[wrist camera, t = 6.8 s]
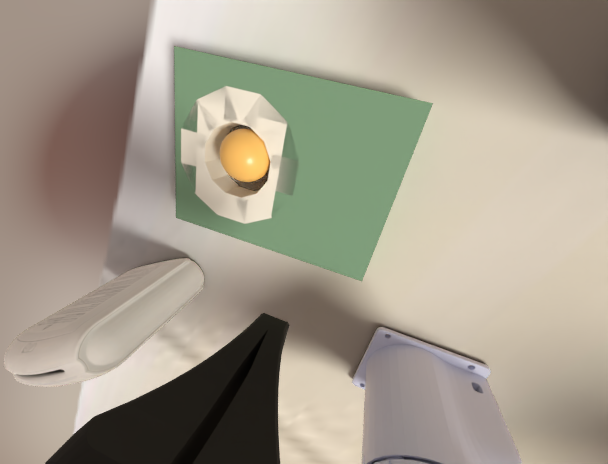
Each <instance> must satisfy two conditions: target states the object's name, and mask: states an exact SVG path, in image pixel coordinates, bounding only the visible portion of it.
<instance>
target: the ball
mask: <svg viewBox="0 0 608 464" xmlns="http://www.w3.org/2000/svg"><path fill="white" fill-rule="evenodd" d="M219 155H220V161H221V164H222V166H223V168H224V170H225V171H226V172H227V173H228V174H229V175H230V176H231V177H233V178H234V179H236V180H239V181H243V182H252V181H256V180H258V179H260V178H262V177H263V176H264V175H265V174H266V173H267V172H268V170H269V168H270V158H269V155H268V152H267V149H266V146H265V143H264V141H263V140H262V139H261V138H260V137H259V136H258V135H257V134H256V133H255V132H254V131H253V130H251V129H237V130H234V131H232V132H230V133H229V134H228V135H227V136H226V137H225V138H224V139H223V141H222V143H221V146H220V151H219Z"/></svg>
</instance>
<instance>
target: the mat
mask: <svg viewBox="0 0 608 464" xmlns="http://www.w3.org/2000/svg"><path fill="white" fill-rule="evenodd" d="M174 69H175V169H176V218H178V219H181V220H184V221H187V222H190V223H193V224H196V225H199V226H202V227H205V228H208V229H211V230H214V231H216V232H219V233H222V234H225V235H228V236H231V237H234V238H237V239H240V240H243V241H246V242H249V243H251V244H254V245H257V246H260V247H263V248H266V249H269V250H272V251H275V252H278V253H281V254H284V255H287V256H289V257H292V258H295V259H298V260H301V261H304V262H307V263H310V264H313V265H316V266H319V267H322V268H324V269H327V270H330V271H333V272H336V273H339V274H342V275H345V276H348V277H351V278H354V279H357V280H360V281H362V280H363V277H364V275H365V272H366V270H367V267H368V265H369V262H370V260H371V257H372V255H373V252H374V250H375V247H376V245H377V242H378V240H379V237H380V235H381V232H382V230H383V227H384V225H385V222H386V220H387V217H388V215H389V212H390V210H391V207H392V205H393V202H394V200H395V197H396V195H397V192H398V189H399V187H400V184H401V182H402V179H403V177H404V174H405V172H406V169H407V167H408V164H409V162H410V159H411V157H412V154H413V152H414V149H415V147H416V144H417V142H418V139H419V137H420V134H421V132H422V129H423V127H424V124H425V122H426V119H427V117H428V114H429V112H430V109H431V107H432V104H433V103H429V102H424V101H420V100H415V99H411V98H406V97H402V96H397V95H393V94H388V93H384V92H379V91H375V90H370V89H366V88H361V87H357V86H352V85H348V84H343V83H339V82H334V81H330V80H325V79H321V78H316V77H312V76H307V75H303V74H298V73H293V72H289V71H284V70H280V69H275V68H271V67H266V66H262V65H257V64H253V63H248V62H244V61H239V60H235V59H230V58H226V57H221V56H217V55H212V54H208V53H203V52H199V51H194V50H190V49H185V48H181V47H176V46H174ZM241 124H242V125H245V126H249V127H250V128H251V129H252V130H253V131H254V132H255V133H256V134H257V135H258V136H259V137H260V138H261V139H262V140H263V141H264V143H265V146H266V149H267V152H268V155H269V158H270V168H269V175H268V181H267V182H266V183H265V184H264V186H263V187H262V188H261V189H260V190H256V191H252V190H249V189H246V188H243V187H240V186H239V185H238V184H237V183H236V182H234V181H233V180H232V179H231V178H230V177H229V176H228V174H227V172H226V171H225V170H224V168H223V166H222V164H221V161H220V155H219V151H220V146H221V143H222V141H223V139H224V138H225V137H226V136H227V135H228V133H229V132H230V130H231V129H232V128H233V127H236V126H239V125H241Z"/></svg>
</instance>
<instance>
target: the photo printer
mask: <svg viewBox="0 0 608 464" xmlns="http://www.w3.org/2000/svg"><path fill="white" fill-rule="evenodd" d="M203 283H204V275H203V272H202V270H201V269H200V267H199V266H198V265H197V264H196V263H195V262H194V261H191V260H190V259H188V258H180V259H173V260H168V261H163V262H158V263H153V264H149V265H144V266H141V267H137V268H134V269H132V270H129V271H127V272H125V273H124V274H122V275H120V276H118V277H117V278H115V279H113V280H112V281H110V282H108V283H106V284H105V285H103V286H101V287H99V288H98V289H96V290H94V291H93V292H91V293H89V294H87V295H86V296H84V297H82V298H80V299H78V300H77V301H75V302H73V303H72V304H70V305H68V306H66V307H65V308H63V309H61V310H59V311H57V312H56V313H54V314H52V315H51V316H49V317H47V318H45V319H44V320H42V321H40V322H38V323H37V324H35V325H33V326H31V327H30V328H28V329H26V330H25V331H23V332H22V333H21V334H19V335H18V336H17V337H16V338H15V339H14V340H13V341H12V343H11V344H10V346H9V347H8V349H7V351H6V353H5V357H4V365H5V368H6V369H7V370H8V371H9V372H12V373H13V374H14V378H15V379H16V380H17V381H18V382H21V383H23V384H27V385H31V386H41V387H52V386H63V385H69V384H74V383H79V382H83V381H87V380H90V379H93V378H96V377H99V376H101V375H103V374H105V373H107V372H109V371H111V370H113V369H115V368H116V367H118V366H119V365H121V364H122V363H123V362H124V361H125V360H127V359H128V358H129V357H130V356H131V355H132V354H133V353H134V352H135V351H136V350H137V349H139V348H140V347H141V346H142V345H143V344H144V343H145V342H146V341H147V340H148V339H150V338H151V337H152V336H153V335H154V334H155V333H156V332H157V331H158V330H159V329H160V328H162V327H163V326H164V325H165V324H166V323H167V322H168V321H169V320H170V319H171V318H173V317H174V316H175V315H176V314H177V313H178V312H179V311H180V310H181V309H182V308H183V307H184V306H186V305H187V304H188V303H189V302H190V301H191V300H192V299H193V298H194V297H195V296H196V295H197V294H198V293H200V291H201V290H202V289H203V288H204V286H203Z"/></svg>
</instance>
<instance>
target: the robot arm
mask: <svg viewBox="0 0 608 464" xmlns="http://www.w3.org/2000/svg"><path fill="white" fill-rule="evenodd" d="M288 328H289V324H288V322H285V321H283V320H280V319H278V318H275V317H273V316H270V315H268V314H265V313H263V314H261V315H260V316H259V317H258V318H257V319H256V320H255V321H254V322H253V323H252V324H251V325H250V326H249V327H248V328H247V329H245V330H244V331H243V332H242V333H241V334H240V335H238V336H237V337H236V338H235V339H233V340H232V341H231V342H230V343H228V344H227V345H226V346H224V347H223V348H222V349H220V350H219V351H218V352H216V353H215V354H214V355H212V356H211V357H209V358H208V359H206V360H205V361H203V362H202V363H200V364H199V365H197V366H196V367H194V368H192V369H191V370H189V371H187V372H186V373H184V374H182V375H180V376H179V377H177V378H175V379H174V380H172V381H170V382H168V383H166V384H164V385H162V386H160V387H158V388H156V389H154V390H152V391H150V392H148V393H146V394H144V395H142V396H140V397H138V398H136V399H134V400H132V401H130V402H127V403H125V404H123V405H120V406H118V407H116V408H113V409H111V410H109V411H106V412H104V413H102V414H99V415H97V416H95V417H93V418H92V419H91V420H90V421H89V422H87V423H86V424H85V425H84V426H83V427H82V428H80V429H79V430H78V431H77V432H76V433H75V434H74V435H73V436H72V437H71V438H70V439H69V440H68V441H67V442H66V443H65V444H64V445H63V446H62V447H61V448H60V449H59V450H58V451H57V452H56V453H55V454H54V455H53V456H52V457H51V458H50V459H49V460H48V461H47V462H46V463H45V464H280V456H279V436H278V385H279V371H280V362H281V354H282V349H283V346H284V342H285V338H286V335H287V331H288ZM385 334H389V335H385ZM469 365H472V366H469ZM490 373H491V370H490V368H489V367H488V366H487V365H485V364H483V363H480V362H477V361H474V360H472V359H469V358H466V357H464V356H461V355H458V354H455V353H453V352H450V351H447V350H444V349H442V348H439V347H436V346H434V345H431V344H428V343H425V342H423V341H420V340H417V339H414V338H412V337H409V336H406V335H403V334H401V333H398V332H395V331H393V330H390V329H387V328H384V327H379V328H377V329H376V331H375V333H374V335H373V337H372V340H371V342H370V344H369V346H368V348H367V350H366V352H365V354H364V356H363V358H362V360H361V362H360V364H359V366H358V369H357V371H356V373H355V375H354V377H353V381H352V382H353V384H354V385H355V386H357V387H360V388H362V389H365V402H364V424H363V446H362V464H522V460H521V458H520V455H519V453H518V450H517V448H516V446H515V443H514V441H513V439H512V436H511V434H510V432H509V430H508V427H507V425H506V423H505V420H504V418H503V416H502V414H501V411H500V409H499V407H498V404H497V402H496V400H495V398H494V395H493V393H492V391H491V388H490V386H489V384H488V382H487V379H486V378H487V377H488V376H489V375H490Z"/></svg>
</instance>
